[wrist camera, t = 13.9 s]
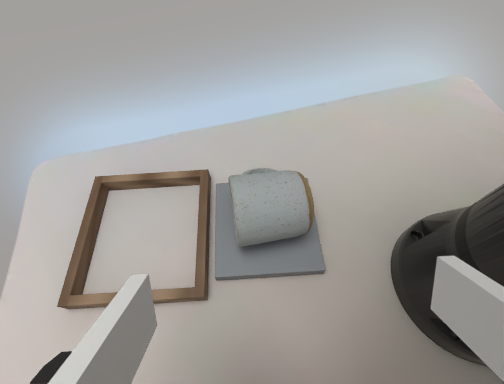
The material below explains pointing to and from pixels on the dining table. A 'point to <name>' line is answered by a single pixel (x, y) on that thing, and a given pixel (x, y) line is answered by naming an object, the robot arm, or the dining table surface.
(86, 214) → the walnut frame
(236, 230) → the ceramic mug
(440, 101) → the dining table surface
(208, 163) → the dining table surface
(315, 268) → the grey board
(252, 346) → the dining table surface
